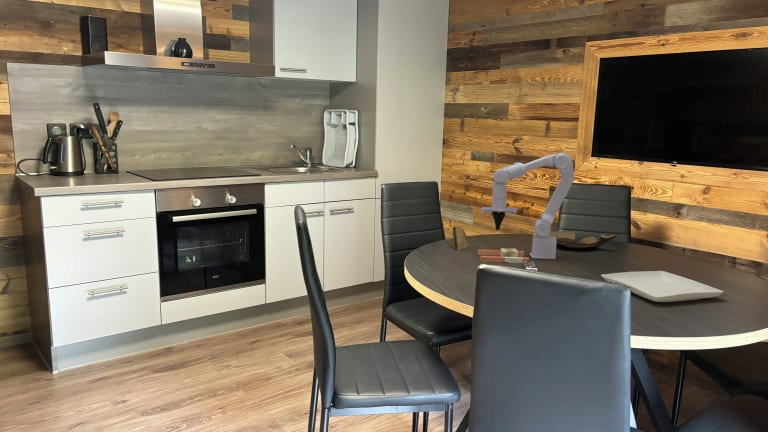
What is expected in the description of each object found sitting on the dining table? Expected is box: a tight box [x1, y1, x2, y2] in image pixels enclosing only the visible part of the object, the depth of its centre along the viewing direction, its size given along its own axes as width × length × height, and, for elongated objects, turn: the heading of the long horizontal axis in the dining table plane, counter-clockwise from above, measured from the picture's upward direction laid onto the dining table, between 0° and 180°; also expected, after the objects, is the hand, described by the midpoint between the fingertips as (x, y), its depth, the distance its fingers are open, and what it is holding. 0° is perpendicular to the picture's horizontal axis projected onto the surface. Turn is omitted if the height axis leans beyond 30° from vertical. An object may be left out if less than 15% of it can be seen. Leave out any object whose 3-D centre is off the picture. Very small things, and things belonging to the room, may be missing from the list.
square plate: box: [600, 270, 725, 303], centre depth 190 cm, size 27×27×4 cm
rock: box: [452, 225, 470, 251], centre depth 249 cm, size 11×9×10 cm
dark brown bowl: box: [549, 230, 617, 249], centre depth 254 cm, size 22×30×8 cm
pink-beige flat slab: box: [477, 249, 530, 264], centre depth 231 cm, size 19×13×2 cm
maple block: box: [499, 247, 519, 257], centre depth 231 cm, size 6×6×4 cm
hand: (497, 229), depth 238 cm, fingers closed
